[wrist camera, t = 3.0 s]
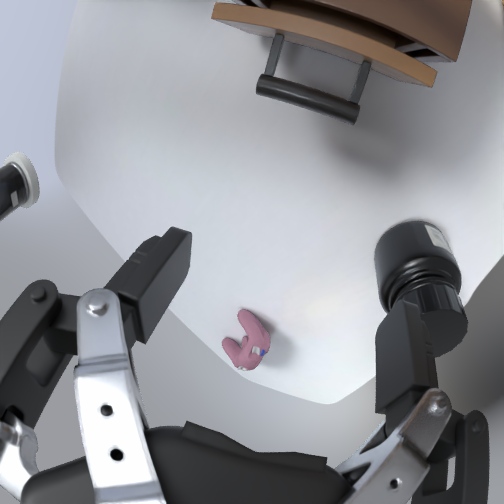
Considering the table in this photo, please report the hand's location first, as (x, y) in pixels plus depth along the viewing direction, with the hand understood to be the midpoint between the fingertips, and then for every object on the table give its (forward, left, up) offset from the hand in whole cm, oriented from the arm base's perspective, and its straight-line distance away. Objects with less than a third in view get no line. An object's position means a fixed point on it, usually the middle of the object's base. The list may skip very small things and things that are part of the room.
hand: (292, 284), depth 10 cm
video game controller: (0, -29, -19) cm, 35 cm away
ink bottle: (+14, -7, -19) cm, 25 cm away
